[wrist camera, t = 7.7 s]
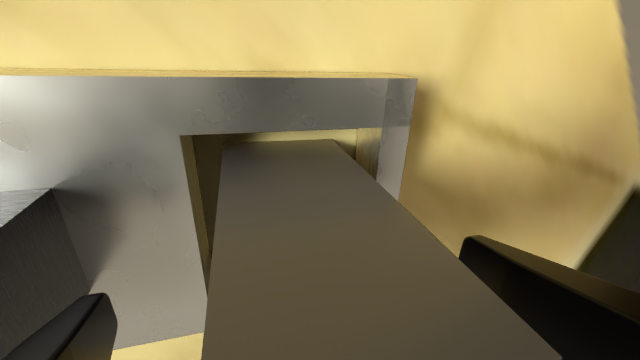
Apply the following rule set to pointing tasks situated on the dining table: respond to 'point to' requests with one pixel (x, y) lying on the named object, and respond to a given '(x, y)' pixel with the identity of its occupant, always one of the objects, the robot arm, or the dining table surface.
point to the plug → (340, 270)
